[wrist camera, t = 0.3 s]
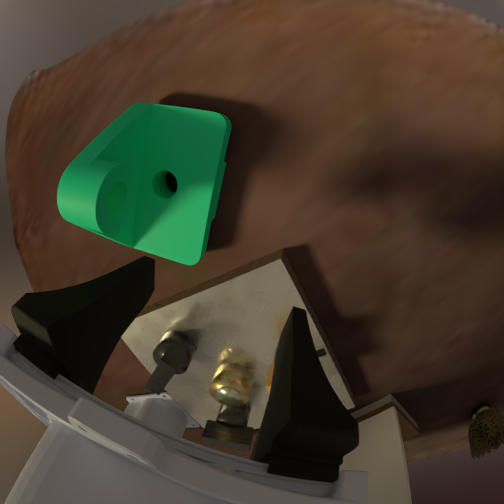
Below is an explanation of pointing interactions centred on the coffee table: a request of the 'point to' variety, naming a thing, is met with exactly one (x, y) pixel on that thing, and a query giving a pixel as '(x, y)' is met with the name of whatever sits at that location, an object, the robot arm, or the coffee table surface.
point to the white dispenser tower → (383, 450)
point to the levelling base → (227, 347)
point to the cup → (485, 430)
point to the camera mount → (150, 180)
